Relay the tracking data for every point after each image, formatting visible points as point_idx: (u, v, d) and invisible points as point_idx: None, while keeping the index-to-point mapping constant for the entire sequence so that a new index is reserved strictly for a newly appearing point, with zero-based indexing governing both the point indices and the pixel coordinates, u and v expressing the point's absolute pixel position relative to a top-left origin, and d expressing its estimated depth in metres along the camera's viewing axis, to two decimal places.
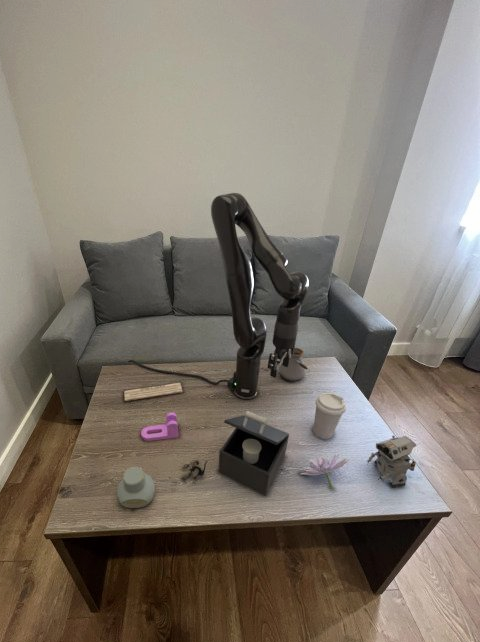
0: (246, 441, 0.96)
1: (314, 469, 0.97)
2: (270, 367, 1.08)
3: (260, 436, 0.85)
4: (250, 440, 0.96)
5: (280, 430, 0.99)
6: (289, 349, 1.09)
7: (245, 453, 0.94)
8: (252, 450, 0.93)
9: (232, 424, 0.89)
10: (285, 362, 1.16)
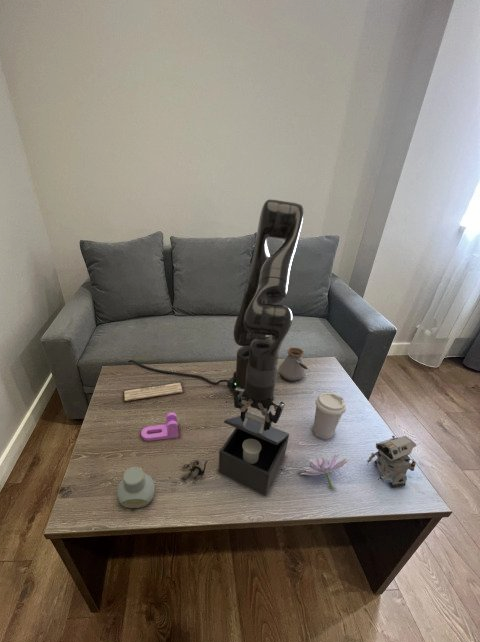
0: (246, 441, 0.96)
1: (314, 469, 0.97)
2: None
3: (260, 436, 0.85)
4: (250, 440, 0.96)
5: (280, 430, 0.99)
6: (260, 402, 0.83)
7: (245, 453, 0.94)
8: (252, 450, 0.93)
9: (232, 424, 0.89)
10: None
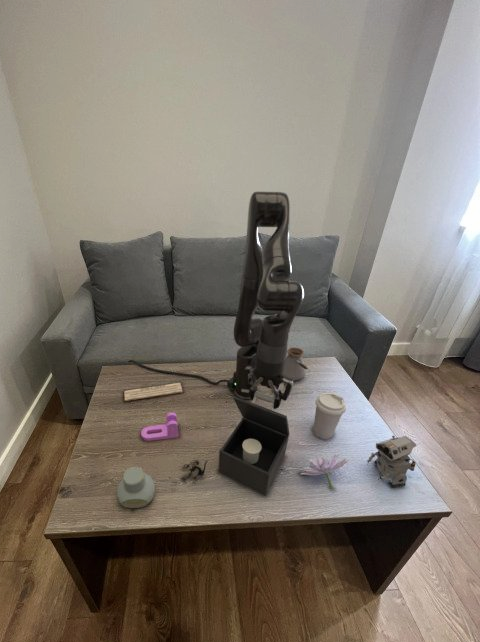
0: (246, 441, 0.96)
1: (314, 469, 0.97)
2: None
3: (269, 410, 0.86)
4: (250, 440, 0.96)
5: None
6: (270, 380, 0.85)
7: (245, 453, 0.94)
8: (252, 450, 0.93)
9: (241, 400, 0.90)
10: None
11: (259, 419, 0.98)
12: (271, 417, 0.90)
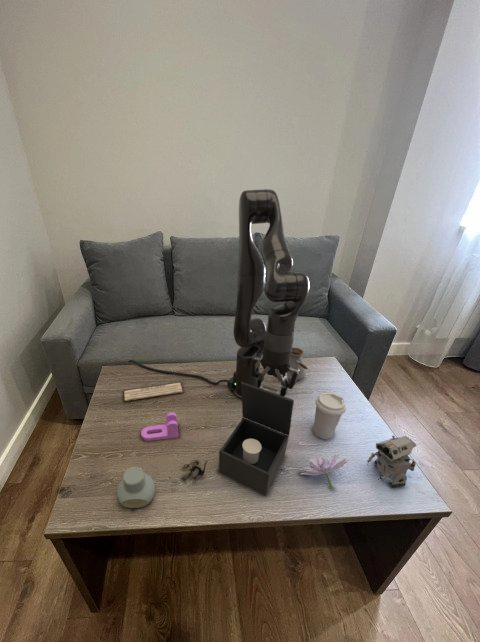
0: (246, 441, 0.96)
1: (314, 469, 0.97)
2: None
3: (277, 395, 0.89)
4: (250, 440, 0.96)
5: None
6: (277, 369, 0.89)
7: (245, 453, 0.94)
8: (252, 450, 0.93)
9: (249, 385, 0.93)
10: None
11: (261, 414, 0.99)
12: (276, 405, 0.91)
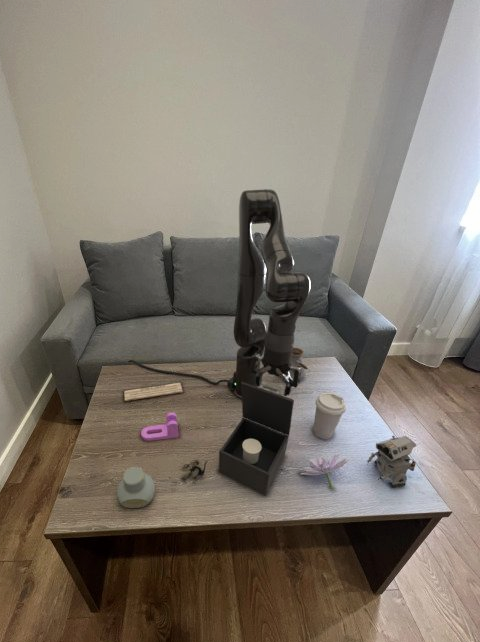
0: (246, 441, 0.96)
1: (314, 469, 0.97)
2: None
3: (277, 394, 0.89)
4: (250, 440, 0.96)
5: None
6: (277, 368, 0.89)
7: (245, 453, 0.94)
8: (252, 450, 0.93)
9: (249, 385, 0.93)
10: None
11: (261, 414, 0.99)
12: (276, 405, 0.91)
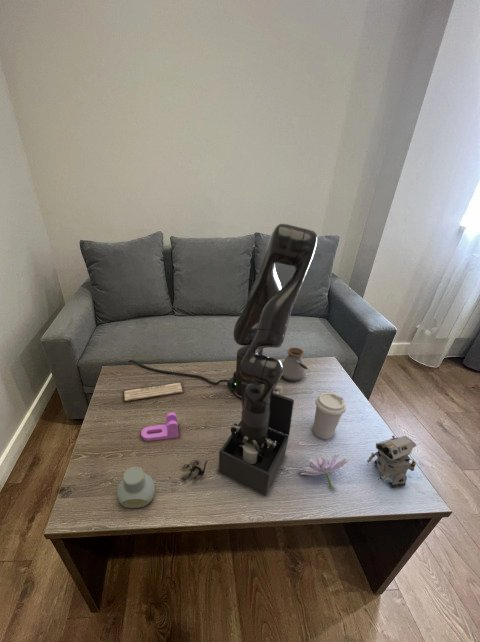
0: None
1: (314, 469, 0.97)
2: None
3: (277, 394, 0.89)
4: None
5: None
6: (255, 440, 0.89)
7: (245, 453, 0.94)
8: (252, 450, 0.93)
9: None
10: None
11: None
12: (276, 405, 0.91)
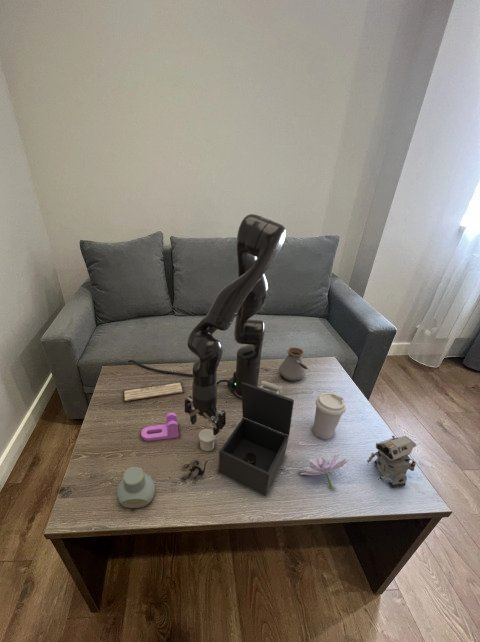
0: (202, 431, 1.07)
1: (314, 469, 0.97)
2: None
3: (277, 394, 0.89)
4: (206, 430, 1.08)
5: None
6: (204, 412, 0.98)
7: (201, 441, 1.06)
8: (207, 439, 1.04)
9: (249, 385, 0.93)
10: None
11: (261, 414, 0.99)
12: (276, 405, 0.91)
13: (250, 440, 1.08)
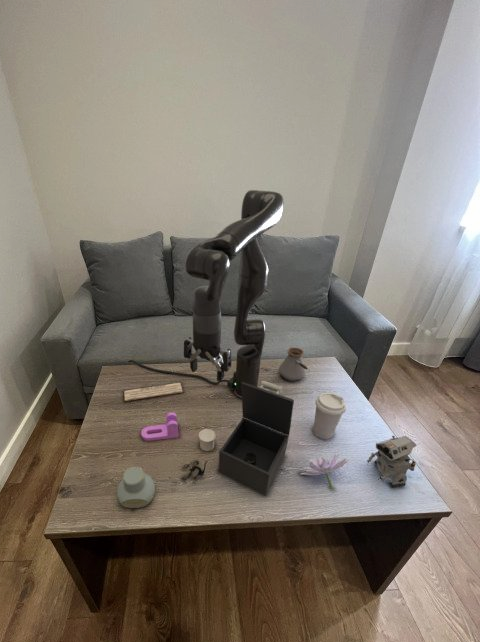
0: (202, 431, 1.07)
1: (314, 469, 0.97)
2: None
3: (277, 394, 0.89)
4: (206, 430, 1.08)
5: None
6: (207, 351, 0.85)
7: (201, 441, 1.06)
8: (207, 439, 1.04)
9: (249, 385, 0.93)
10: None
11: (261, 414, 0.99)
12: (276, 405, 0.91)
13: (250, 440, 1.08)
